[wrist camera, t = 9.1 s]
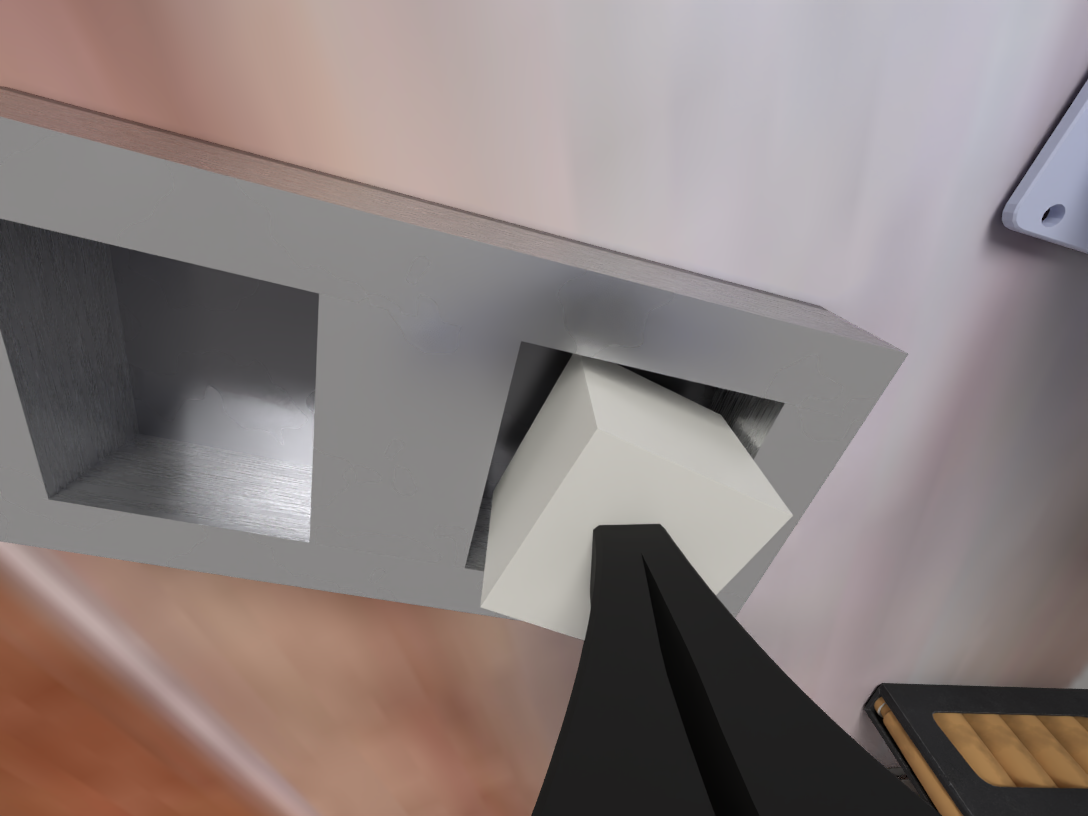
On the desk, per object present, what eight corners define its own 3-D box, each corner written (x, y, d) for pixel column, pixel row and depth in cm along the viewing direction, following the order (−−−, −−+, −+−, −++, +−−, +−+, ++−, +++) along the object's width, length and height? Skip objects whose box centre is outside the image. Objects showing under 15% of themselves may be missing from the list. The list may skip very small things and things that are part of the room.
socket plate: (820, 306, 13) (908, 354, 10) (682, 563, 18) (714, 650, 15) (5, 87, 10) (-214, 60, 7) (88, 457, 15) (-26, 537, 12)
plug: (707, 394, 14) (793, 515, 9) (616, 515, 16) (651, 662, 11) (574, 329, 13) (597, 428, 8) (496, 466, 15) (480, 607, 10)
